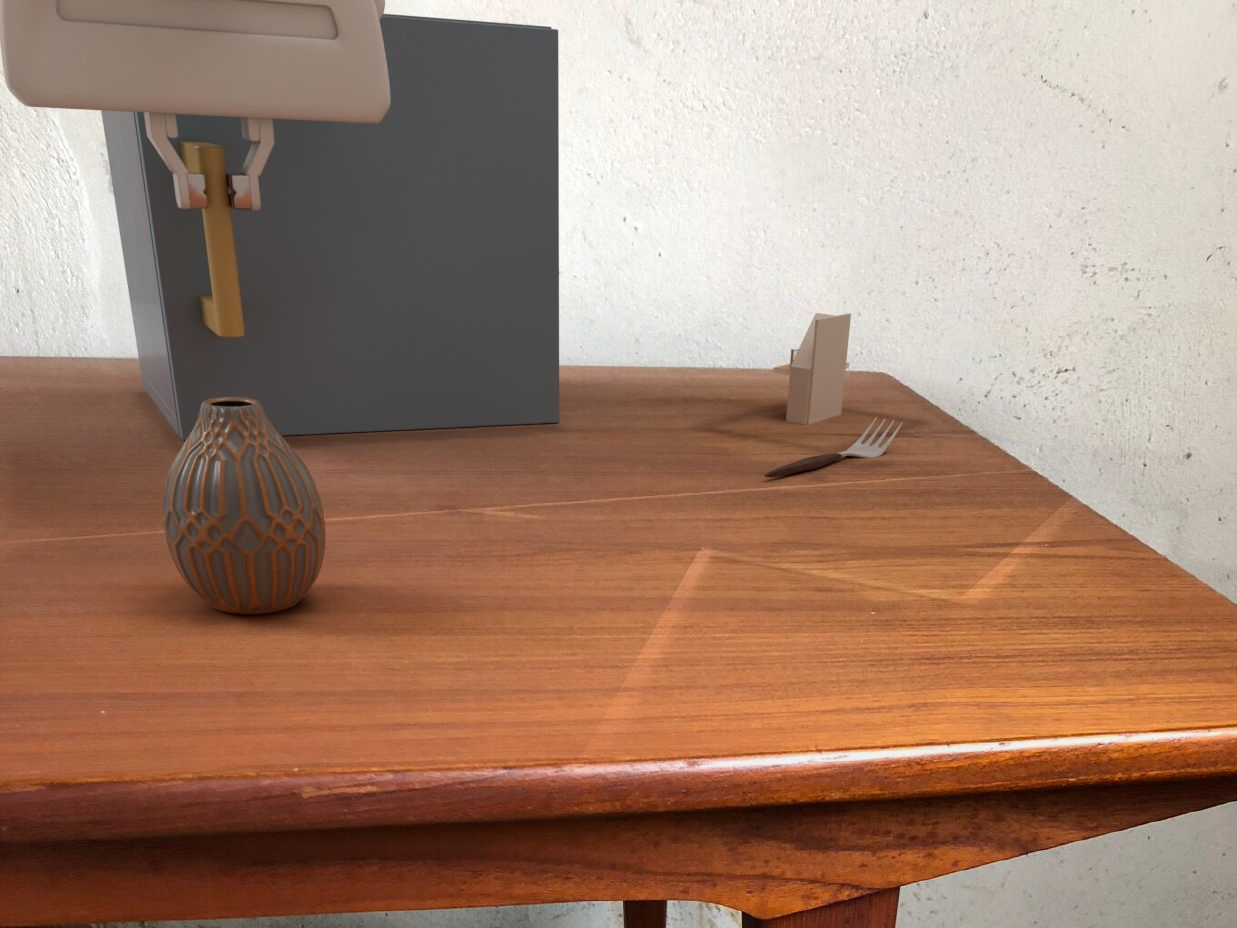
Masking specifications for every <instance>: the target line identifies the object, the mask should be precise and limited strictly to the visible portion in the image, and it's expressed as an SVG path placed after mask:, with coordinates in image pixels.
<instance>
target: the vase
mask: <svg viewBox="0 0 1237 928" xmlns="http://www.w3.org/2000/svg"><path fill="white" fill-rule="evenodd" d="M162 496H163V497H162V521H163V527H164V528H163V529H164V535H165V538H166V542H167V547H168V550H169V552H170V556H171V558H172V561H173V563H174V565H175V567H176V569H177V571H178V573H179V574H180V576H181V578H182V579H183V582H184V583H186V585H187V586H188V587H189V588H190V590H192V592H193V593H194V594H196V595H197V596H198V597H199V598H200V599H201V600H203V601H204V602H205V603H206V604H208V605H209V606H210V607H212V608H214V609H216V610H218V611H220V612H224V613H229V614H236V615H263V614H271V613H276V612H281V611H285V610H289V609H290V608H292V607H294V606H296V605H297V604H299V602H301V600H303V598H304V597H305V596H306V595H307V594H308V592H309V591H310V590H311V589H312V588H313V586H314V584H315V583H316V582H317V581H316V580H317V579H318V577H319V574H320V571H321V569H322V566H323V561H324V556H325V550H326V519H325V512H324V508H323V503H322V499H321V496H320V492H319V490H318V488H317V485H316V482H315V480H314V478H313V476H312V474H311V473H310V470H309V469H308V467H307V466H306V463H305V462H304V461H303V460H302V458H301V457H300V456H299V454H298V453H297V452H296V451H295V449H293V448H292V446H291V445H290V444H289V443H288V442H287V440H286V439H285V438H284V436H281V435H280V434H279V433H278V432H277V430H276V429H275V428H274V427H273V425H272V424H271V422H270V421H269V419H268V417H267V415H266V414H265V412H264V410H263V408H262V406H261V404H260V403H259V402H258V401H257V400H254V399H250V398H243V397H219V398H212V399H208V400H205V401H204V402H203V403H202V405H201V408H200V412H199V416H198V419H197V422H196V424H195V426H194V428H193V430H192V432H191V433H190V435H189V437H188V438H187V440H185V441H184V442H183V445H182V446H181V447H180V449H179V451H178V452H177V454H176V456H175V458H174V459H173V461H172V463H171V465H170V468H169V470H168V474H167V476H166V480H165V484H164V491H163V495H162Z"/></svg>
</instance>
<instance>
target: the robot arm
mask: <svg viewBox="0 0 1237 928" xmlns="http://www.w3.org/2000/svg"><path fill="white" fill-rule="evenodd" d="M385 8H386V0H0V53H1V55H0V56H1V60H2V61H1V62H2V69H3V74H4V80H5V81H4V82H5V85H6V88H7V89H8V91H9V92H10V93H11V94H12V95H13V97H14V98H15V99H16V100H18V101H19V102H20V103H21V104H22V105H24V106H25V107H28V108H29V107H30V108H44V109H46V108H47V109H63V110H64V109H65V110H85V111H101V110H104V111H125V112H144V117H145V124H146V131H147V136H148V138H149V139H150V141H151V143H152V144H153V146H154V147H155V149H156V150H157V152H158V153H159V155H160V156H161V158H162V159H163V161H164V162H165V164H166V165H167V167H168V169H169V170H170V171H172V172H173V180H174V188H175V196H176V201H177V205H178V207H179V208H181V209H207V196H206V195H205V194H204V190H205V188H206V187H205V178H204V174H201V173H198V172H188V170H187V169H186V167H185V166H184V164H183V162H182V161H181V159H180V158H179V156H178V154H177V153H176V151H175V150H174V148H173V147H172V145H171V143H170V142H169V140H168V139H167V137H169V138H177V136H178V131H177V122H176V114H186V115H206V116H227V117H240V119H241V127H242V136H243V138H244V139H246V140H249V141H253V143H252V145H251V148H250V150H249V153H248V155H247V157H246V160H245V162H244V165H243V167H242V170H241V172H240V173H242V174H239V173H227V181H228V187H229V189H230V190H231V192H230V193H229V199H230V206H231V208H232V209H236V210H260V208H261V202H260V192H259V182H258V176H260V175H261V173H262V170H263V168H264V166H265V164H266V161H267V159H268V157H269V154H270V152H271V150H272V148H273V145H274V143H275V141H274V130H273V119H288V120H309V121H329V122H350V123H370V124H378V123H380V122H381V120H382V119H383V117H384V116H385V115H386V113H387V111H388V110H389V108H390V104H391V96H390V85H389V75H388V68H387V61H386V54H385V48H384V42H383V37H382V32H381V27H380V22H379V21H380V20H381V18H382V16H383V14H385V13H384V12H385Z"/></svg>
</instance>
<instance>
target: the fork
mask: <svg viewBox="0 0 1237 928" xmlns="http://www.w3.org/2000/svg"><path fill="white" fill-rule="evenodd" d="M877 420H878V416H876V417H875V418H874V419H873V421H872V422H871V423H870V424H869V426H868V427H867V428H866V429H865V431H864V432H863V433H862V434H861V436H860V437H859V438H858V439H857V440H856V442H854V443H853V444H852V445H851V446H849V447H848V448H847V449H846V450H845V451H840V452H834V453H827V454H826V453H825V454H819V455H813V456H808V457H804V458H801V459H799V460H796V461H793V462H791V463H788V464H786V465H783V466H779V467H777V468H775V469H772V470H770V471H768V472H767V473H765V474H764V477H766V478H778V477H783V476H786V475H787V476H788V475H791V474H795V473H799V472H805V471H810V470H816V469H819V468H822V467H824V466H827V465H828V464H831V463H833V462H835V461H838V460H840V459H841V458H844V457H846V456H847V457H850V456H851V457H855V458H860V459H861V458H862V459H875V458H879V457H881V456H882V455H883V454H884V453H885V452H886V450H887V449H888V448H889V446H890V445H891V443H892V442H893V441H894V439H895V437H896V436H897V434H898V433H899V431H900V429H901V428H902V427H903V425H904V422H903V421H901V422H900V424H899V425H898V426H897V428H896V429H895V430H894V431H893V433H892V434H891V436H890V437H889V438H888V439H887V441H886V442H885V443H884V444H883V445H881V444H882V442H883V441H884V439H885V438H886V436H887V435H888V433H889V431H890V430H891V428H893V427H892V426H893V425H894V423H895V419H893V420H892V421H891V423H889V425H888V426H887V428H886V429H885V431H883V433H882V434H881V436H880V437H879V438H878V439H877V440H876V442H874V444H872V442H873V441H874V440H875V438H876V437H877V435H878V434H879V432H880V431H881V429H882V427H883V426H884V424H885V422H886V418H884V419H883V421H882V422H881V423H880V424H879V425H878V427H877V428H876V429H875V431H873V433H872V434H871V436H870V437H869V438H868V439H867V440H866V441H865V442H864V440H865V438H866V437H867V435H868V434H869V432H870V431H871V430H872V428H873V426H874V425H875V423H876V422H877ZM880 445H881V446H880Z"/></svg>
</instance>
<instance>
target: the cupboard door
mask: <svg viewBox="0 0 1237 928" xmlns="http://www.w3.org/2000/svg"><path fill="white" fill-rule="evenodd" d="M379 22H380V27H381V32H382V37H383V42H384V48H385V54H386V61H387V68H388V75H389V85H390V96H391V104H390V108H389V110H388V111H387V113H386V115H385V116H384V117H383V119H382V120H381V122H380V123H378V124H370V123H350V122H329V121H309V120H288V119H273V130H274V141H275V143H274V145H273V148H272V150H271V152H270V154H269V157H268V159H267V161H266V164H265V166H264V168H263V170H262V173H261V175H260V176H258V182H259V192H260V202H261V208H260V210H236V209H232V208H231V206H230V199H229V193H230V192H231V190H230V189H229V187H228V181H227V173H239V174H242V173H240V172H241V170H242V167H243V165H244V162H245V160H246V157H247V155H248V153H249V150H250V148H251V145H252V143H253V141H249V140H246V139H244V138H243V136H242V127H241V119H240V117H227V116H206V115H186V114H176V122H177V131H178V136H177V138H169V137H167V139H168V140H169V142H170V143H171V145H172V147H173V148H174V150H175V151H176V153H177V154H178V156H179V158H180V159H181V161H182V162H183V164H184V166H185V167H186V169H187V170H188V172H198V173H201V174H204V178H205V187H206V188H205V190H204V194H205V195H206V196H207V209H181V208H179V207H178V205H177V201H176V196H175V188H174V180H173V172H172V171H170V170H169V169H168V167H167V165H166V164H165V162H164V161H163V159H162V158H161V156H160V155H159V153H158V152H157V150H156V149H155V147H154V146H153V144H152V143H151V141H150V139H149V138H148V136H147V131H146V124H145V117H144V112H135V119H136V126H137V133H138V140H139V147H140V154H141V161H142V168H143V175H144V182H145V189H146V196H147V204H148V211H149V218H150V225H151V232H152V239H153V246H154V253H155V260H156V267H157V274H158V281H159V288H160V296H161V303H162V310H163V317H164V324H165V331H166V338H167V345H168V352H169V359H170V366H171V373H172V381H173V388H174V395H175V402H176V409H177V416H178V423H179V430H180V438H181V439H182V441H184V442H185V441H186V440H187V438H188V437H189V435H190V433H191V432H192V430H193V428H194V426H195V424H196V422H197V419H198V416H199V412H200V408H201V405H202V403H203V402H204V401H205V400H208V399H212V398H219V397H243V398H250V399H254V400H257V401H258V402H259V403H260V404H261V406H262V408H263V410H264V412H265V414H266V415H267V417H268V419H269V421H270V422H271V424H272V425H273V427H274V428H275V429H276V430H277V432H278V433H279V434H280V435H281V436H282V437H287V436H307V435H308V436H309V435H328V434H349V433H371V432H373V433H374V432H390V431H391V432H392V431H393V432H394V431H414V430H415V431H416V430H432V429H435V430H436V429H437V430H438V429H454V428H473V427H476V428H478V427H499V426H515V425H516V426H518V425H538V424H539V425H541V424H558V423H560V210H559V208H560V201H559V200H560V179H559V178H560V169H559V168H560V164H559V163H560V161H559V157H560V154H559V153H560V152H559V151H560V149H559V147H560V146H559V145H560V144H559V143H560V140H559V139H560V138H559V137H560V135H559V134H560V133H559V132H560V131H559V129H560V128H559V125H560V124H559V123H560V122H559V121H560V119H559V118H560V117H559V116H560V113H559V112H560V111H559V109H560V108H559V107H560V104H559V102H560V101H559V100H560V99H559V97H560V96H559V93H560V92H559V89H560V88H559V81H560V80H559V29H558V28H551V29H547V28H535V27H522V26H509V25H496V24H484V23H471V22H458V21H445V20H433V19H420V18H407V17H394V16H382V18H381V20H380V21H379Z"/></svg>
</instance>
